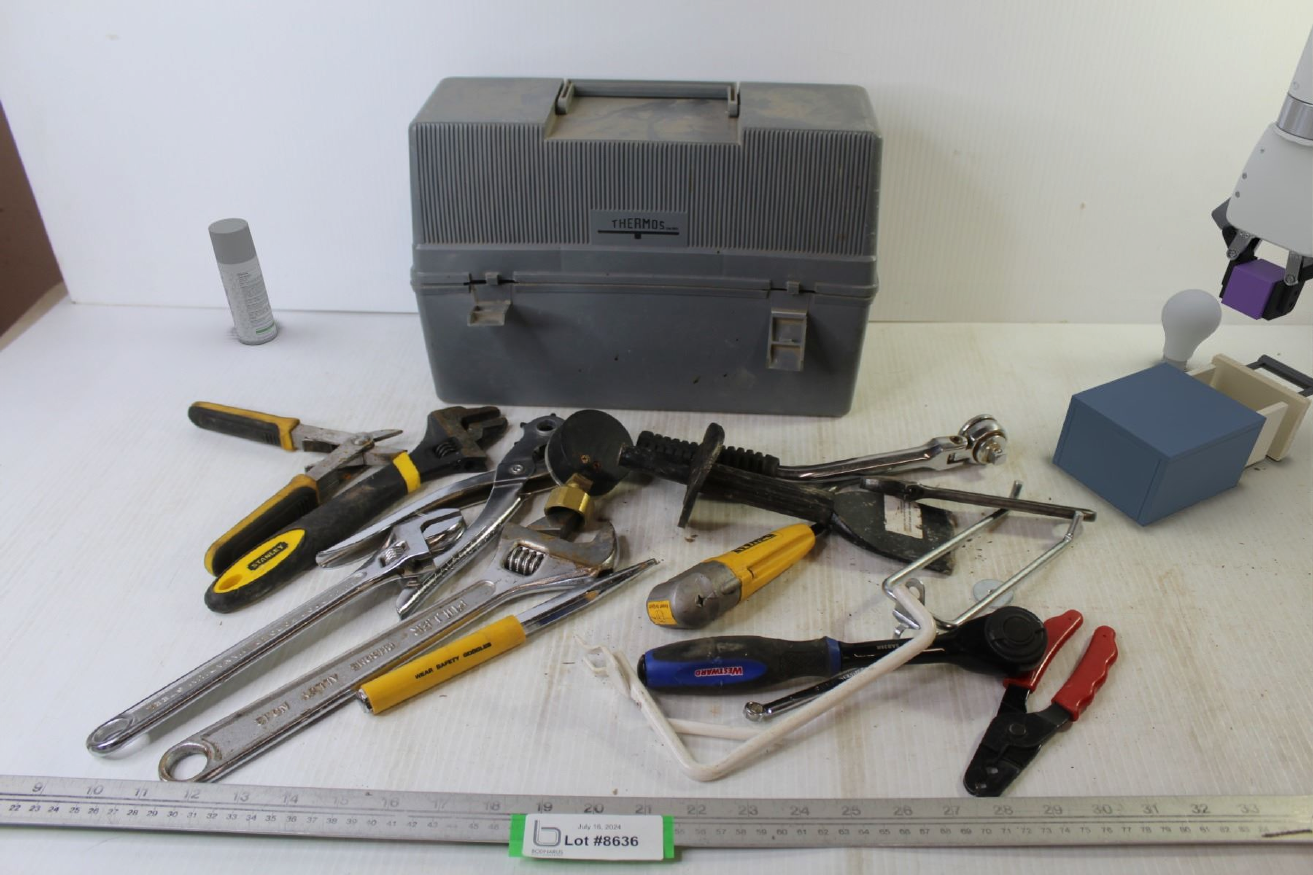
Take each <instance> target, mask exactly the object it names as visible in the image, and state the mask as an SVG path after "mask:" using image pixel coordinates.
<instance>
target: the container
mask: <svg viewBox="0 0 1313 875" xmlns="http://www.w3.org/2000/svg"><path fill="white" fill-rule="evenodd" d="M207 230H208V233H209V237H210V241H211V242H210V243H211V245H212V246H211V247H212V250H213V253H214V256H215V262H216V265H217V269H218V272H219V275H220V279H221V282H222V286H223V289H224V293H225V297H226V299H227V304H228V307H229V310H230V314H231V317H232V321H233V324H234V327H235V331H236V334H237V337H238V340H239V342H240V343H242V344H244V345H248V346H254V345H255V346H256V345H262V344H266V343H268V342H270V341H272V340H273V339H275V338H276V337H277V335H278V330H277V326H276V323H275V322H276V321H275V319H274V314H273V310H272V306H271V303H270V299H269V295H268V290H267V287H266V284H265V279H264V276H263V272H262V268H261V265H260V264H261V263H260V260H259V256H258V254H257V250H256V246H255V243H254V240H253V236H252V232H251V229H250V226H249V223H248V221H247V220H246V219H243V218H239V217H230V218H223V219H218V220H216V221H214V222H212V223H210V225H209V226H208V228H207Z"/></svg>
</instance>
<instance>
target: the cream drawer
mask: <svg viewBox="0 0 1313 875" xmlns="http://www.w3.org/2000/svg"><path fill="white" fill-rule="evenodd" d="M1259 369H1263V370H1265V371H1267V372H1269V373H1270V374H1272V375H1275V376H1277V377H1278V378H1280V379H1282V380H1284V381H1286V382H1287V383H1290V384H1292V385H1294V386H1296V387H1298V388H1300V389H1301V390H1300V391H1298V392H1296V391H1294V390H1293V389H1291V388H1290V387H1289V388H1288V387H1286V386H1285V385H1283V384H1281V383H1279V382H1277V381H1276V380H1273V379H1271V378H1269V377H1267V376H1265V375H1264V374H1261V373H1260V372H1258V371H1256V370H1259ZM1185 373H1187V374H1189V375H1190V376H1192V377H1194V378H1196V379H1198V380H1199V381H1201V382H1203V383H1205V384H1207V385H1208V386H1210V387H1212V388H1214V389H1216V390H1217V391H1219V392H1221V393H1223V394H1225V395H1226V396H1228V397H1230V398H1232V399H1234V400H1235V401H1237V402H1239V403H1241V404H1243V405H1245V406H1246V407H1248V408H1250V409H1252V410H1254V411H1255V412H1257V413H1259V414H1261V415H1263V416H1264V417H1266V418H1267V419H1266V422H1265V424H1264V426H1263V428H1262V430H1261V432H1260V435H1259V437H1258V439H1257V441H1256V444H1255V446H1254V448H1253V450H1252V452H1251V455H1250V457H1249V459H1248V461H1247V463H1246V466H1245V468H1247V467H1249V466H1252V465H1254V464H1256V463H1259V462H1260V461H1263V460H1264V459H1265V458H1266V456H1268V457H1269V458H1271V459H1272V460H1275V461H1276V462H1278V461H1281V460H1283V459H1285V458H1286V456H1287V454H1288V452H1289V450H1290V447H1291V445H1292V443H1293V441H1294V440H1295V437H1296V435H1297V433H1298V431H1299V428H1300V426H1301V424H1302V422H1303V420H1304V418H1305V416H1306V414H1307V412H1308V410H1309V407H1310V405H1311V404H1312V401H1313V400H1312V399H1310V398H1309V397H1311V396H1313V378H1312V377H1311V376H1309V375H1307V374H1305V373H1303V372H1301V371H1299V370H1297V369H1295V368H1294V367H1291V366H1289V365H1287V364H1285V363H1283V362H1282V361H1279V360H1278V359H1276V358H1274V357H1271V356H1269V355H1267V354H1262V355H1261V356H1259V357H1258V359H1257V361H1256V360H1255V361H1253V362H1251V363H1248V364H1245V365H1244V364H1242V363H1241V362H1239V361H1237V360H1235V359H1234V358H1231V357H1229V356H1227V355H1225V354H1224V353H1218V354H1215V355H1214V356H1213V357H1212V360H1211V362H1210V363H1208V364H1205V365H1202V366H1200V367H1197V368H1194V369H1191V370H1188V371H1185Z"/></svg>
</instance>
